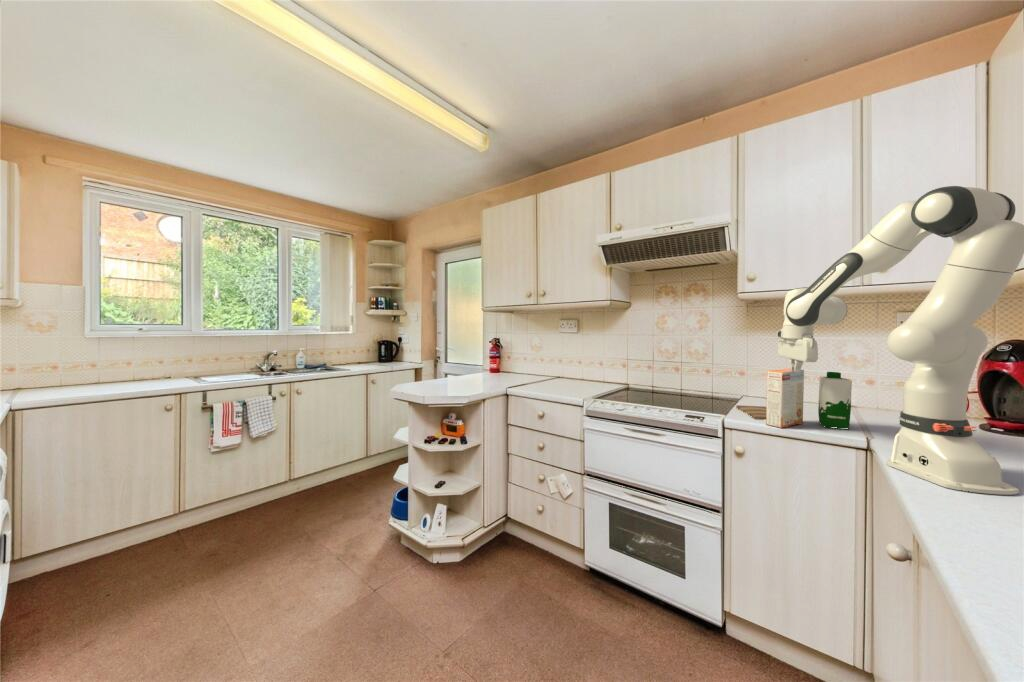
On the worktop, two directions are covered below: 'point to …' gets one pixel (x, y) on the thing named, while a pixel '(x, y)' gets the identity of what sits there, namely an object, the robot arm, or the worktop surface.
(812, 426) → the worktop surface
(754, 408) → the walnut board
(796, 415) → the cracker box
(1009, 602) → the worktop surface
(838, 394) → the milk carton
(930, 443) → the robot arm
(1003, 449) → the worktop surface
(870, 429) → the worktop surface
